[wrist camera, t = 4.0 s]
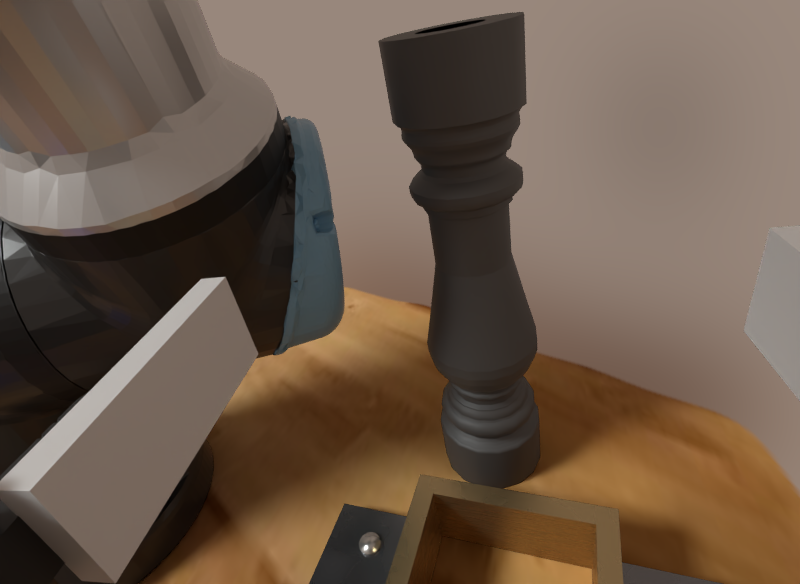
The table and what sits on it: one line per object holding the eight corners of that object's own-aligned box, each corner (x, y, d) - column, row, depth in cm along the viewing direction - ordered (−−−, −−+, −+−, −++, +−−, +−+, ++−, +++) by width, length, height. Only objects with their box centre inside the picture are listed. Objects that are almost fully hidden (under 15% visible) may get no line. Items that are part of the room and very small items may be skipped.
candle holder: (481, 400, 35) (440, 23, 22) (558, 439, 31) (563, 4, 18) (428, 455, 31) (340, 48, 18) (505, 507, 27) (464, 32, 14)
